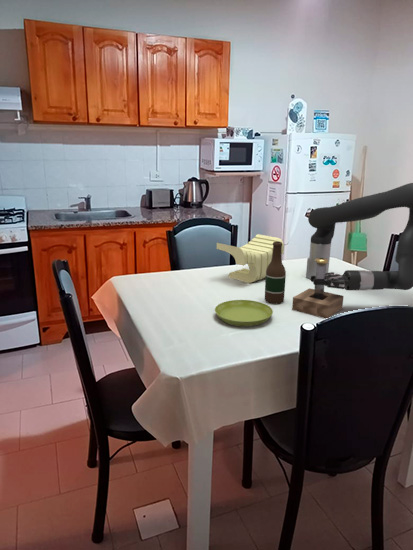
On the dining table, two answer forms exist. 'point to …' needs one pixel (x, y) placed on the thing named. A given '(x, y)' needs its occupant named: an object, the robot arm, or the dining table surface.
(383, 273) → the robot arm
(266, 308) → the saucer
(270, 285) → the beer bottle
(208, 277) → the dining table surface
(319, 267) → the steel pin
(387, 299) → the dining table surface
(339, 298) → the block
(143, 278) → the dining table surface
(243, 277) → the slatted curved stool
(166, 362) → the dining table surface
